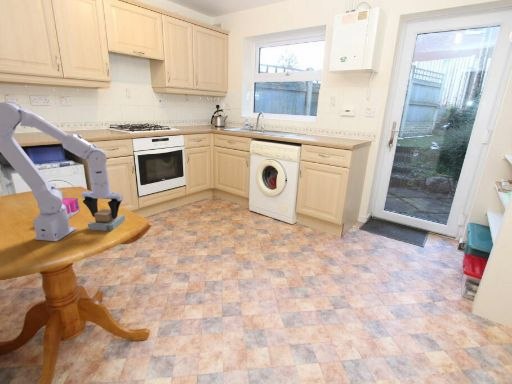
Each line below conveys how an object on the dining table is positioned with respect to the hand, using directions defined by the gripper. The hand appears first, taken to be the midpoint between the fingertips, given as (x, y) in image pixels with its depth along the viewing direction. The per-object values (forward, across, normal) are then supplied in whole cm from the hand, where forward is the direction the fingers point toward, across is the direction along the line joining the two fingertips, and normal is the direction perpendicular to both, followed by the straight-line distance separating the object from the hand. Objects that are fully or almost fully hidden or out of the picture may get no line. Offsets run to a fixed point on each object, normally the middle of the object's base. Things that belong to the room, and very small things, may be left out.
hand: (105, 216), depth 103 cm
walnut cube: (+3, 0, 0) cm, 3 cm away
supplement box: (0, +21, -10) cm, 23 cm away
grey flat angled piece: (+3, 0, 0) cm, 3 cm away
